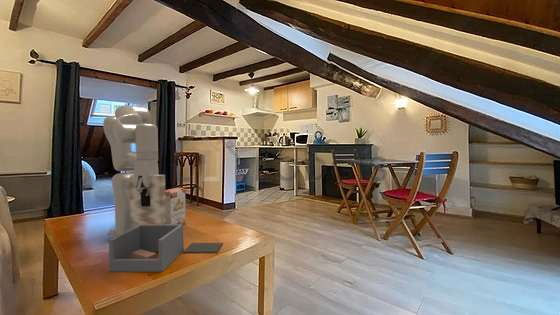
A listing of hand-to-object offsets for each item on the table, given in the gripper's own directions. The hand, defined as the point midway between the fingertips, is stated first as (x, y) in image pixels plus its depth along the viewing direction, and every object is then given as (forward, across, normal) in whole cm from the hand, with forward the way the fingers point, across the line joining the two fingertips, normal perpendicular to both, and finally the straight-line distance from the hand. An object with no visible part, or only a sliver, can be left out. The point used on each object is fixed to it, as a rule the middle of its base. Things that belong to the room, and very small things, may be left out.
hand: (148, 204), depth 99 cm
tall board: (+7, 0, 0) cm, 7 cm away
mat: (+21, -12, +17) cm, 30 cm away
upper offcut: (+19, +4, 0) cm, 20 cm away
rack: (+21, 0, 0) cm, 21 cm away
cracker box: (+22, -42, -9) cm, 49 cm away
